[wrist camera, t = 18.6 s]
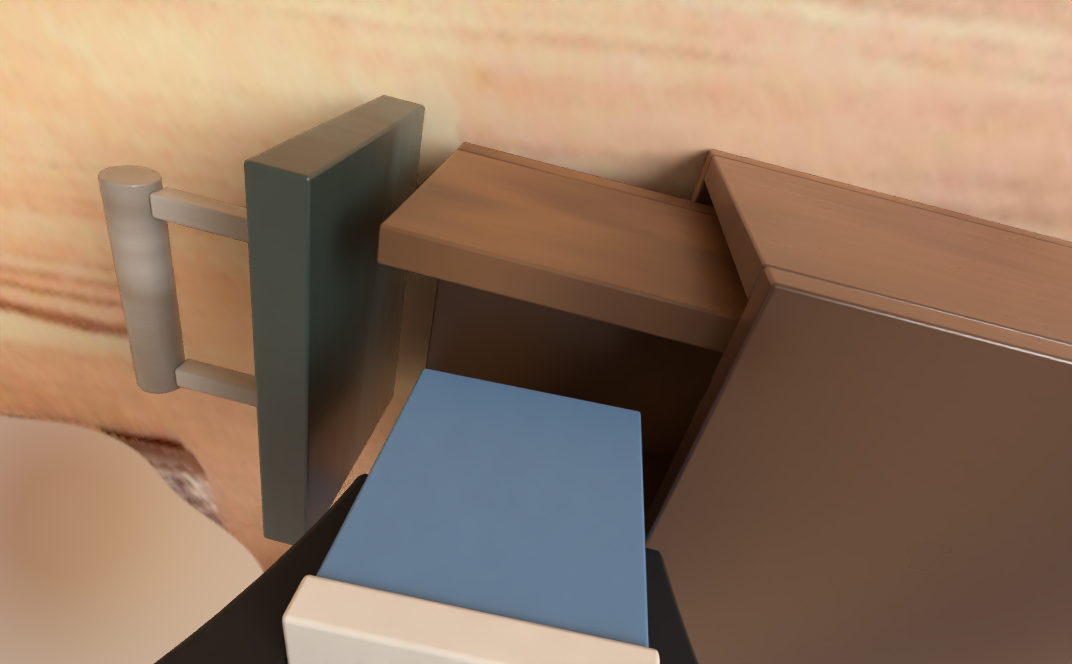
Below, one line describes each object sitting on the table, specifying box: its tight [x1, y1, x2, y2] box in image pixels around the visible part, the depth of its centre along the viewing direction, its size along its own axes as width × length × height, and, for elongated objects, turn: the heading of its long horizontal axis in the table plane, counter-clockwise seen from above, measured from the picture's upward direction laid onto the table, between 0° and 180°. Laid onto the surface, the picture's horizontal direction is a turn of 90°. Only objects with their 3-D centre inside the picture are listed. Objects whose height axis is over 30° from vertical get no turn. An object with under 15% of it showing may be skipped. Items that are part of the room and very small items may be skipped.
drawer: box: [98, 95, 749, 545], centre depth 16 cm, size 17×10×7 cm, turn 78°
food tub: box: [282, 369, 660, 664], centre depth 10 cm, size 4×5×5 cm
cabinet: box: [644, 149, 1072, 664], centre depth 15 cm, size 13×11×8 cm
